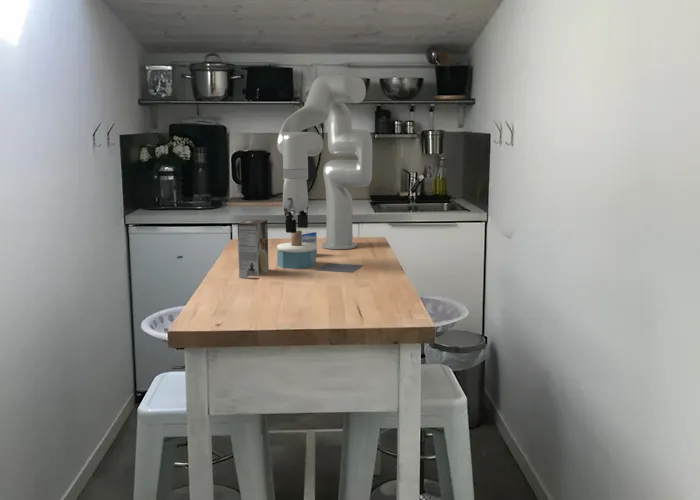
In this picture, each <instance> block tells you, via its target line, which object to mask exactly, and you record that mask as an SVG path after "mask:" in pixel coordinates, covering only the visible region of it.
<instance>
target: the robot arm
mask: <svg viewBox="0 0 700 500" xmlns="http://www.w3.org/2000/svg"><path fill="white" fill-rule="evenodd" d="M366 91H367V90H366V85H365V82H364V80H363V79H362V78H360V77H355V76H351V75H322V76H318V77H316V78H315V79H314V81H313V82H312V84H311V87H310V90H309V92H308V95H307V97H306V100H305V102H304V105H303V106H302V107H301V108H299V109H298V110H296V111H294V112H293V113H292V114H291V115H290V116H288V117H287V118H286V119H285V120H284V122H283V123H282V126H281V128H280V130H279V132H278V137H277V141H276V147H277V150H278V152H279V153H280V154H281V155H282V164H283V165H282V171H283V172H282V173H283V176H282V177H283V187H282V211H283V214H284V220H285V233H287V234H288V233H290V234H291V233H296V231H297V228H303V229H306V228H308V227H309V222H308V221H309V216H308V215H309V211H308V209H309V195H308V194H309V192H308V181H307V180H309V159H308V158H309V157H317V156H318V155H320V153H322V150H323V149H324V140H323V137H322V135H321V134H319V133H318V132H315V131H304V130H306V129H310V128H313V127H315V126H318V125H320V124H323V123H324V122H326V121H327V148H328V152H329V153H330V154H331V155H333V156H339V157H357V159H333V160H332V159H331V160H329V161H327V162H326V163H325V164H324V166H323V171H322V172H323V180H324V185H325V202H326V203H325V205H326V206H325V211H326V213H325V218H326V220H325V221H326V225H325V227H326V229H325V231H326V241H325V242H323V243H322V245H321V246H322V248H324V249H327V250H350V249H355V248H357V245H358V244H357V243H356V242H353V237H354V235H353V197H352V194H351V193H350V192H349V190H348V187H351V188H352V187H354V188H364V187H369V185H370V184H371V182H372V177H373V138H372V135H371V133H370V132H369V131H368V130H367V129H364V128H353V127H352V121H353V120H352V119H353V118H352V117H353V116H352V113H351V110H350V109H349V108H348V106H347V105H346V104H359V103H360V104H361V102H363V101H364V99H365V97H366V94H367V92H366ZM297 213H298V214H297ZM296 216H297V219H296Z"/></svg>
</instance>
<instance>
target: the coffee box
mask: <svg viewBox="0 0 700 500" xmlns="http://www.w3.org/2000/svg"><path fill="white" fill-rule="evenodd" d="M236 227H237V248H238V249H237V251H238V252H237V253H238V278H239V279H252V280H253V279H254V280H255V279H257V280H258V279H259V280H260V277H259V276H261V275H263V274H265V273H266V272H268V271H269V270H270V268H269V267H270V266H269V232H268V230H269V229H268V219H267V220H266V219H265V220H263V219H249V220H248V219H247V220H244V221H241V222H240V223H237V224H236ZM251 276H255V277H251ZM256 276H258V277H256Z"/></svg>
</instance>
